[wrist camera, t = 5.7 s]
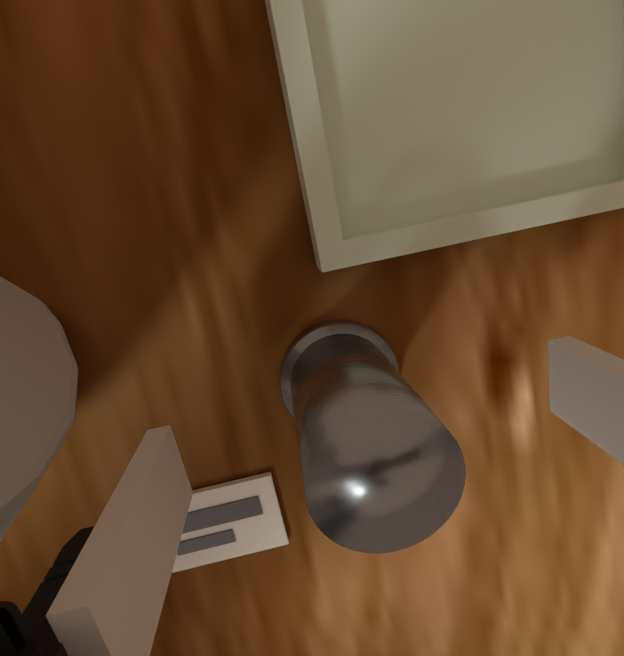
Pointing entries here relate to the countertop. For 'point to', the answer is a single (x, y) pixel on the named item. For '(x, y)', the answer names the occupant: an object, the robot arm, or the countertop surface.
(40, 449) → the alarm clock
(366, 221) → the tray
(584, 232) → the countertop surface
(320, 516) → the metal door knob
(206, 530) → the label tile
